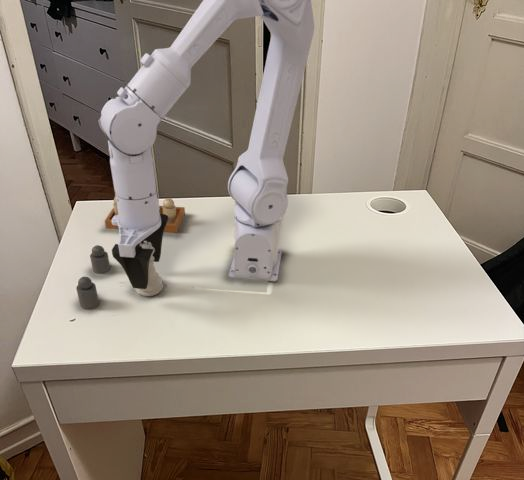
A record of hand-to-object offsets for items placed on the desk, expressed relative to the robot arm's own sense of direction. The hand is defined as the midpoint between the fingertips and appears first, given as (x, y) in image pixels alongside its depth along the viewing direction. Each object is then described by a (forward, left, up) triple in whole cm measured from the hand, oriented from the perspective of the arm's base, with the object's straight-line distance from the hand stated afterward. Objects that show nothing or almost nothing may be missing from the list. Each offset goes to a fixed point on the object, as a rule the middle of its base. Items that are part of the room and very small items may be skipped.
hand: (146, 273), depth 88 cm
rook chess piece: (0, 0, -3) cm, 3 cm away
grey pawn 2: (+4, +9, -3) cm, 10 cm away
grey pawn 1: (-5, +8, -3) cm, 10 cm away
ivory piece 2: (+21, +1, -3) cm, 21 cm away
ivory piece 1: (+21, +11, -3) cm, 24 cm away
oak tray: (+21, +6, -3) cm, 22 cm away
